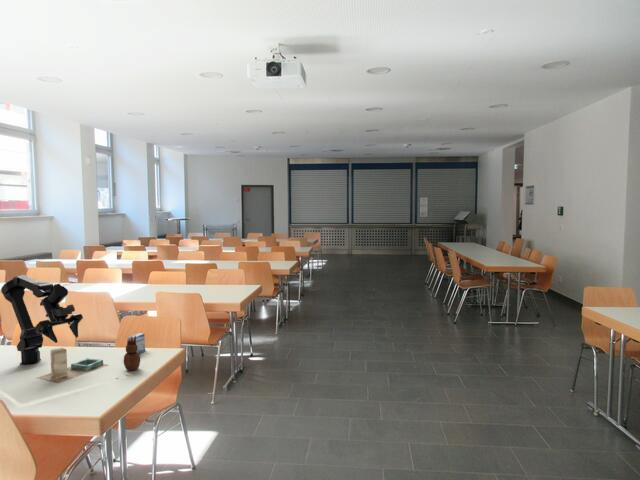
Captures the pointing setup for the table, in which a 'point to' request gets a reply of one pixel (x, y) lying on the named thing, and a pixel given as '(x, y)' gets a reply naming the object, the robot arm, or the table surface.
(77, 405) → the table surface
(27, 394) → the table surface
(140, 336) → the medicine box
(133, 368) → the wooden figurine
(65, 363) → the birch block
